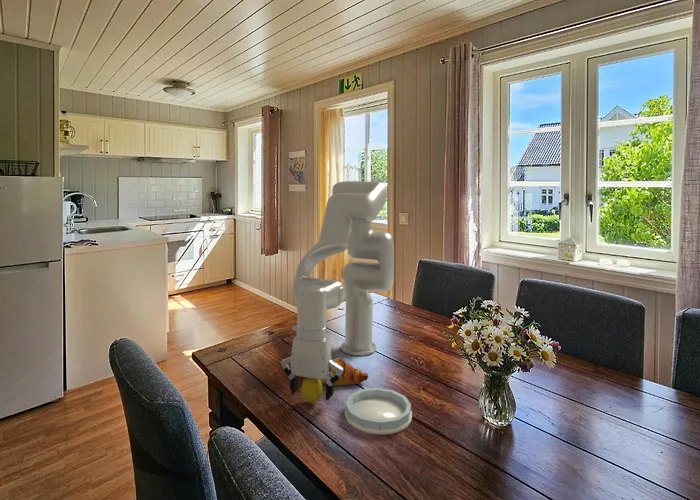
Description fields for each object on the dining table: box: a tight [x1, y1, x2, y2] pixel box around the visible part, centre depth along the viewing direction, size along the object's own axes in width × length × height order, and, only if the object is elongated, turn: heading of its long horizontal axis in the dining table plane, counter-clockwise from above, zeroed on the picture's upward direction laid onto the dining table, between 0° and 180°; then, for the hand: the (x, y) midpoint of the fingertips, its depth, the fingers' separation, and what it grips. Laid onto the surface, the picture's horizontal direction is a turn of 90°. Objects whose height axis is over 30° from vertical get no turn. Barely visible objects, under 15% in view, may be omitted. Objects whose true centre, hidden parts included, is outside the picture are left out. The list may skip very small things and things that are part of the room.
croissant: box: [320, 357, 369, 386], centre depth 122 cm, size 21×10×8 cm
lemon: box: [301, 377, 323, 404], centre depth 108 cm, size 6×6×8 cm
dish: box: [344, 387, 413, 436], centre depth 103 cm, size 17×17×3 cm
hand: (311, 394), depth 108 cm, fingers open, 9 cm apart
